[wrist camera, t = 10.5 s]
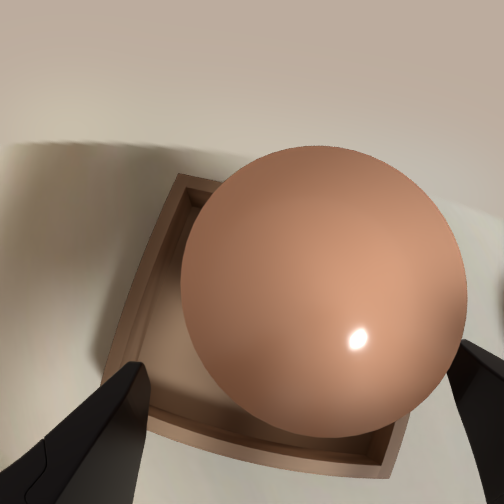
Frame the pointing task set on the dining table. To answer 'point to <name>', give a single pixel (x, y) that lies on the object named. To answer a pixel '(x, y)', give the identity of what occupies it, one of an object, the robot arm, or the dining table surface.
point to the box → (200, 381)
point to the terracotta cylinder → (323, 291)
